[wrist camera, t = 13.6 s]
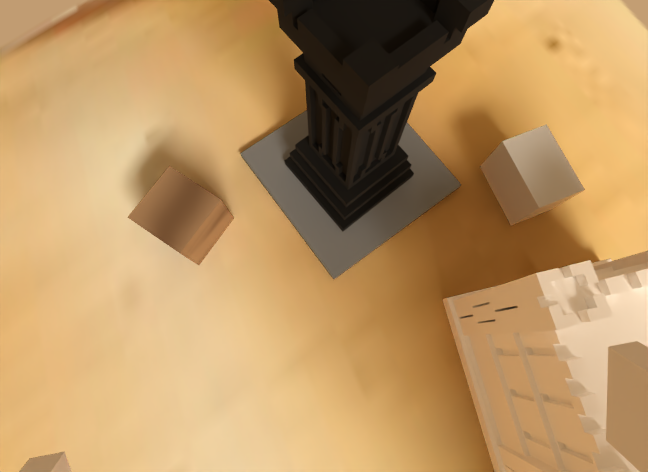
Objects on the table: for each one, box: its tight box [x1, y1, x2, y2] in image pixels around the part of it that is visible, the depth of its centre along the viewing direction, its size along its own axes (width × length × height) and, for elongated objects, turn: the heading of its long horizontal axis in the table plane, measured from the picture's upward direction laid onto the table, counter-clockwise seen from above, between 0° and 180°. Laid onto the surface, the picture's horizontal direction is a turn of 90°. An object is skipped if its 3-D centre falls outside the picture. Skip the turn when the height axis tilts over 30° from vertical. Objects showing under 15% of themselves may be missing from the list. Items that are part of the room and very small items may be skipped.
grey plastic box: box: [480, 124, 585, 226], centre depth 35 cm, size 6×4×5 cm, turn 22°
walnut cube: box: [128, 166, 234, 265], centre depth 34 cm, size 5×5×5 cm
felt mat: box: [240, 110, 461, 279], centre depth 38 cm, size 14×14×1 cm
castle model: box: [442, 251, 648, 472], centre depth 27 cm, size 14×14×15 cm
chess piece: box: [269, 0, 494, 232], centre depth 28 cm, size 8×8×20 cm
